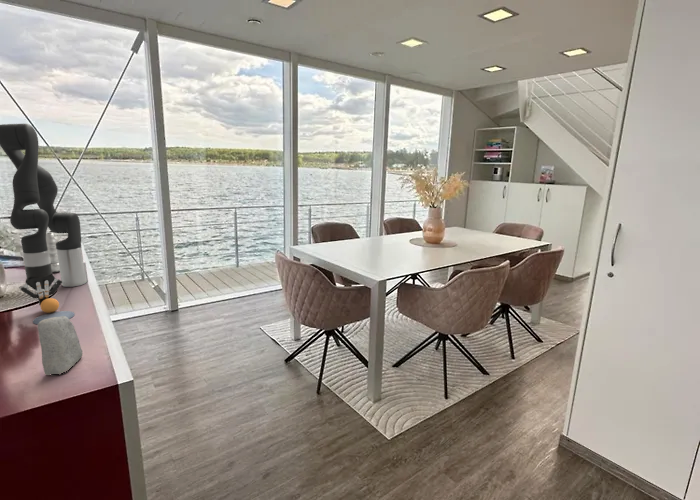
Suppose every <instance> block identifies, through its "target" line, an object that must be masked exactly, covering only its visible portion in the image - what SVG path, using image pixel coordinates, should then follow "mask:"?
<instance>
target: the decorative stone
mask: <svg viewBox="0 0 700 500" xmlns="http://www.w3.org/2000/svg"><path fill="white" fill-rule="evenodd" d="M37 331H38V339H39V343H40V344H39V345H40V348H41V364H42V369H43V372H44V375H45V374H46V375H50V374H59V375H61V374H60V373H63V372H65V371H67V370H69V369H70V368H71V367H72V366H73V367H74V366H75V365H76V364H75V363H76V362H77V363H78V361H79V360H81V358H82V357H83V349H82V346H81V343H80V339H79V335H78V334H77V330H76V328H75V325H74V324H73V322H72V321H71V320H70V319H68V318H67V317H66V316H60V317H53V318H48V319H44V320H42V321H40V322H39V323H38V324H37ZM73 367H72V368H73ZM72 368H71V369H72ZM71 369H70V370H71ZM70 370H69V371H70ZM67 372H68V371H67ZM65 373H66V372H65ZM63 374H64V373H63ZM46 375H45V376H46Z"/></svg>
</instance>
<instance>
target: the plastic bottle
mask: <svg viewBox="0 0 700 500" xmlns="http://www.w3.org/2000/svg"><path fill="white" fill-rule="evenodd" d="M46 242H47V248H48V253H49V256H50V262H51V268H52V273H58V272H59V273H60V269H59V263H58V257H57V250H56V243H57V242H59V241H58V240H57V239H56V238H55V233H53V232H46Z"/></svg>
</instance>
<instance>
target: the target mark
mask: <svg viewBox="0 0 700 500" xmlns="http://www.w3.org/2000/svg"><path fill="white" fill-rule="evenodd" d="M75 315H76V314H75V312H74V311H70V310H62V311H61V310H60V311H54V312H52V313H43V314H42V315H39V316H37V317H36V318H34V319H33V320H32V323H33V324H35V325H38V323H39V322H40V321H42V320H44V319H48V318H53V317H60V316H66V317H67V318H68V319H69V320H70V319H72V318H73V317H74V316H75Z"/></svg>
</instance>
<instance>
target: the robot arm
mask: <svg viewBox="0 0 700 500" xmlns="http://www.w3.org/2000/svg"><path fill="white" fill-rule="evenodd" d="M0 148H2V150H3V152H4V153H5V154H6V155H7V157H8V159H9V160H10V161H11V163H12V164H13V165H14V167H15V168H16V171H15V173H14V175H13V178H12V189H13V190H12V191H13V199H14V200H13V207H12V211H11V214H10V218H9V219H10V224H11V226H12V227H13V228H14V229H15V230H21V231H23V230H35V229H37V231H35V233H31V234H27V235H24V236H22V237H21V239H20V243H21V248H22V255H23V256H22V257H23V258H22V259H23V264H24V270H25V276H26V279H25V283H24V284H23V285H21V286H19V287H18V289H19V290H20V291H22V292H23V293H25V294H26V295H28V296H30V297H31V298H33V299H38V304H39V306H40V305H41V303H42V301H44V300H45V299H48V298H49V297H50V296H53V295H55V293H56V292H57V291H58V289H59V288H60V286H62V287H64V288H65V287H67V288H69V287H71V288H72V287H79V286H82V285H85V284H86V283H87V282H89V278H88V271H87V263H86V261H84V256H83V255H84V254H83V249H82V233H81V232H82V230H81V222H80V217H79V216H78V214H77V213H75V212H58V211H57V210H56V209H55V206H54V204H55V203H54V202H55V200H56V198H57V195H58V190H59V189H58V185H57V184H56V181H55V180H54V178H53V176H52V174H51V173H50V172H49V171H48V170H47V169H45V168H44V167H42V166H41V165H39V137H38V133H37V132H36V129H35V128H34V127H33V126H32V125H31V124H30V123H7V124H6V123H5V124H3V123H2V124H0ZM23 151H24V153H23ZM35 204H37V206H38V208H34V209H30V208H29V209H24V208H26V207H27V206H32V205H35ZM48 229H49V230H50V232H51V233H54V234H67V238H65V239H62V240H59V241H58V242H57V243H56V250H57V257H58V263H59V269H60V271H59V275H60V278H59V279H58V278H55V275H54V274H53V272H52V268H51V262H50V256H49V253H48V248H47V242H46V233H48V232H47V230H48ZM52 284H53V285H52ZM30 288H31V289H33V290H35V293H34V292H33V291H31V290H30ZM49 288H50V289H49Z"/></svg>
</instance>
